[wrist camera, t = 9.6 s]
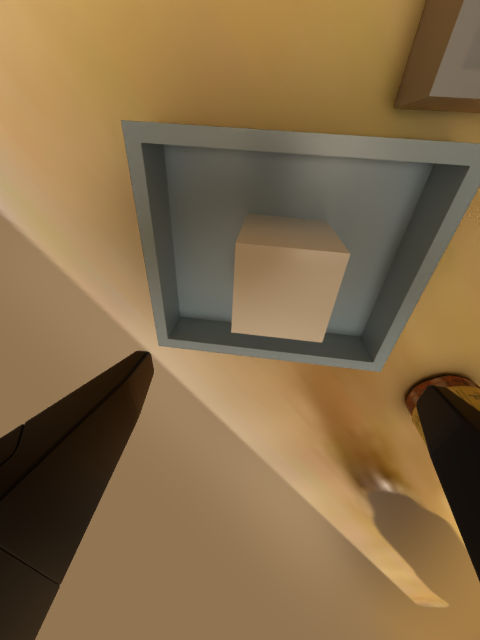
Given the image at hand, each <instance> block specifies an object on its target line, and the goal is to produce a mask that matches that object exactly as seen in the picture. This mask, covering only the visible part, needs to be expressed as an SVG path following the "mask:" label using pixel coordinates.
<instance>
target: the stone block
mask: <svg viewBox="0 0 480 640" xmlns="http://www.w3.org/2000/svg"><path fill="white" fill-rule="evenodd" d="M349 257H350V252H349V251H348V250H347V248H346V247H345V245H344V244H343V243H342V241H341V240H340V239H339V237H338V236H337V234H336V233H335V232H334V230H333V229H332V228H331V226H330V225H329V223H328V222H327V221H326V220H314V219H302V218H291V217H279V216H268V215H256V214H247V215H246V218H245V220H244V223H243V226H242V228H241V231H240V233H239V236H238V238H237V241H236V245H235V265H234V286H233V307H232V328H231V332H233V333H242V334H250V335H259V336H268V337H277V338H286V339H294V340H303V341H312V342H321V343H322V342H323V338H324V335H325V332H326V329H327V326H328V323H329V320H330V316H331V313H332V310H333V307H334V304H335V301H336V298H337V294H338V291H339V288H340V285H341V282H342V279H343V275H344V272H345V269H346V266H347V263H348V260H349Z"/></svg>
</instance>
